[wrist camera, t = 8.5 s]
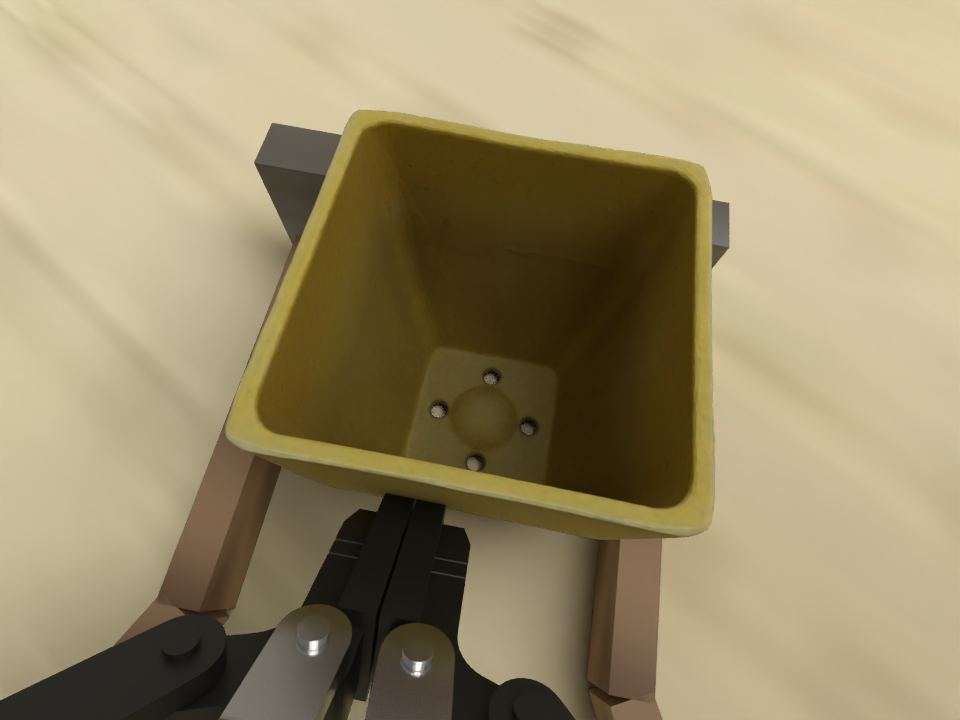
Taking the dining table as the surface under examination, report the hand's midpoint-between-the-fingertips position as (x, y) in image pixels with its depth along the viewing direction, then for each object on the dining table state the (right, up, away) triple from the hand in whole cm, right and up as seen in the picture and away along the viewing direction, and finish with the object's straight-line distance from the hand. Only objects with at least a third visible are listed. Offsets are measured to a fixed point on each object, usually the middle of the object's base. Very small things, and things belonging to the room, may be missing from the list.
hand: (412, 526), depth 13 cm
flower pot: (+2, +2, +6) cm, 7 cm away
